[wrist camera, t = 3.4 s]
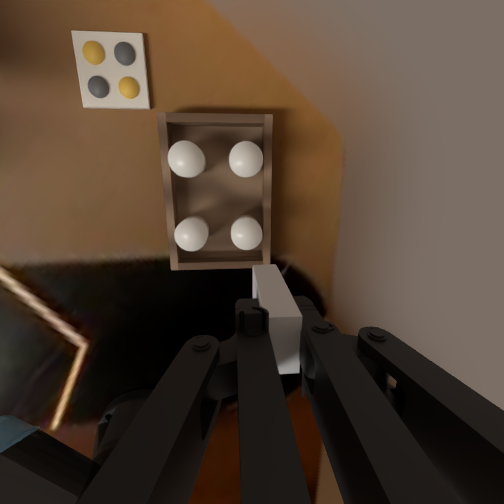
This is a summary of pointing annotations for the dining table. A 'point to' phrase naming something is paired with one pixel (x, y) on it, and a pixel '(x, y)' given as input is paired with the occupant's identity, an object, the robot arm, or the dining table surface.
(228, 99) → the dining table surface
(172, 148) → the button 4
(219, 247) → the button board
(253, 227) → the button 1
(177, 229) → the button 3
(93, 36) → the pattern card
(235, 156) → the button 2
